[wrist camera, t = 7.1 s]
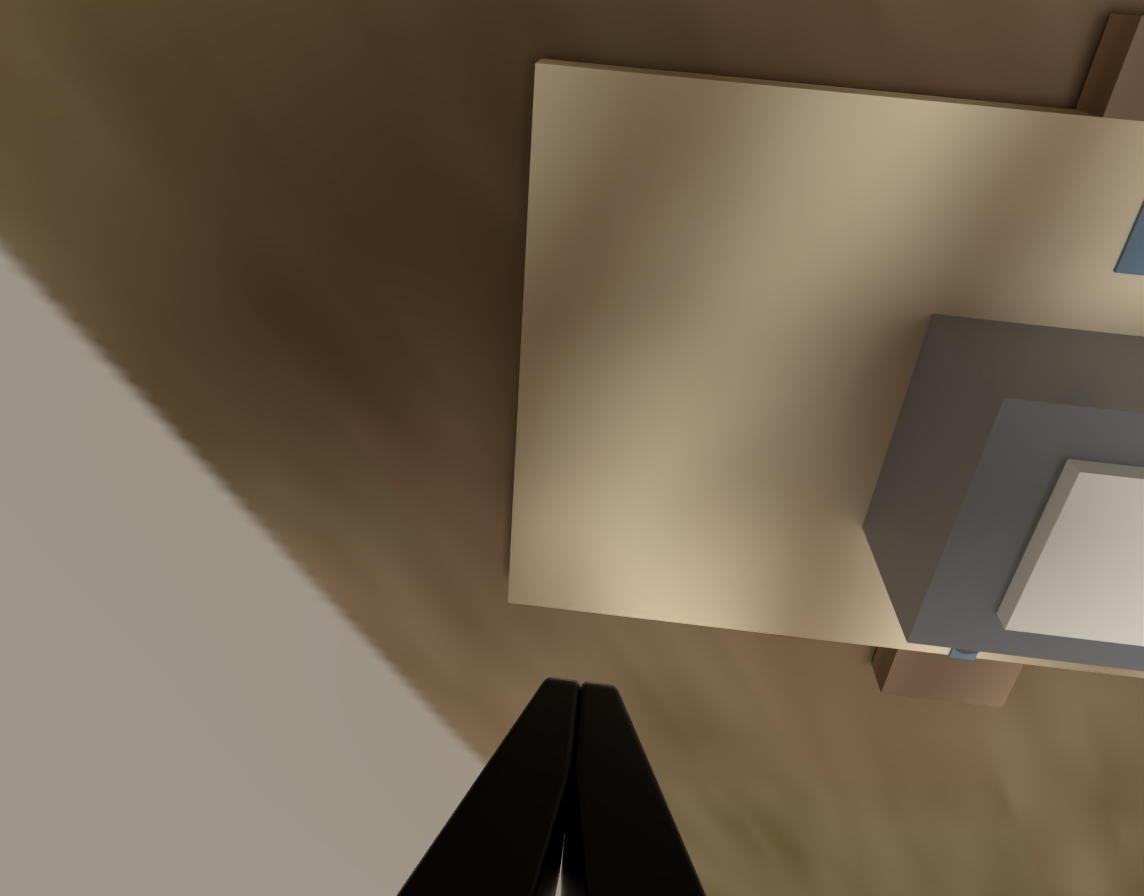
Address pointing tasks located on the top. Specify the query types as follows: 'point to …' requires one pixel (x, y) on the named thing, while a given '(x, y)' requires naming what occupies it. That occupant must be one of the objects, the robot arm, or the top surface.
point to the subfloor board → (785, 328)
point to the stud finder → (1017, 494)
